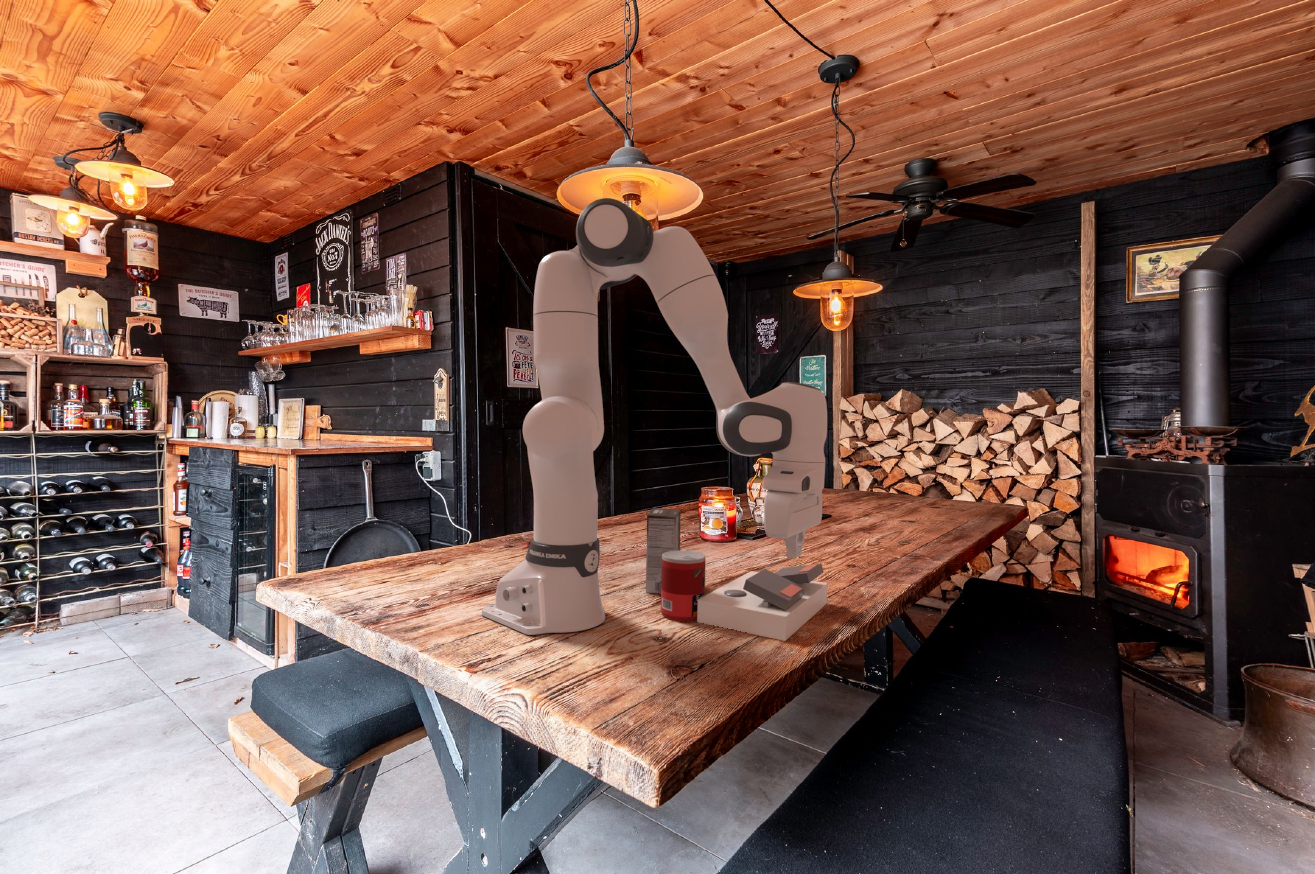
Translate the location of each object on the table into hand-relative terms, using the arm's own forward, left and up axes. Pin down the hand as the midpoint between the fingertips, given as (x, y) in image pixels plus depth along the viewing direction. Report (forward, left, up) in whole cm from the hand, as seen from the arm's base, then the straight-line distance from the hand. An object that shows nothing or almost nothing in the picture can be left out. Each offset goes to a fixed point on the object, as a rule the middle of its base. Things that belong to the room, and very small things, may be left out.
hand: (793, 556), depth 105 cm
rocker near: (-3, -1, -6) cm, 7 cm away
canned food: (-19, -6, -12) cm, 23 cm away
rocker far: (-3, +10, -6) cm, 12 cm away
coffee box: (-30, +7, -12) cm, 34 cm away
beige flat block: (-6, +4, -12) cm, 14 cm away
